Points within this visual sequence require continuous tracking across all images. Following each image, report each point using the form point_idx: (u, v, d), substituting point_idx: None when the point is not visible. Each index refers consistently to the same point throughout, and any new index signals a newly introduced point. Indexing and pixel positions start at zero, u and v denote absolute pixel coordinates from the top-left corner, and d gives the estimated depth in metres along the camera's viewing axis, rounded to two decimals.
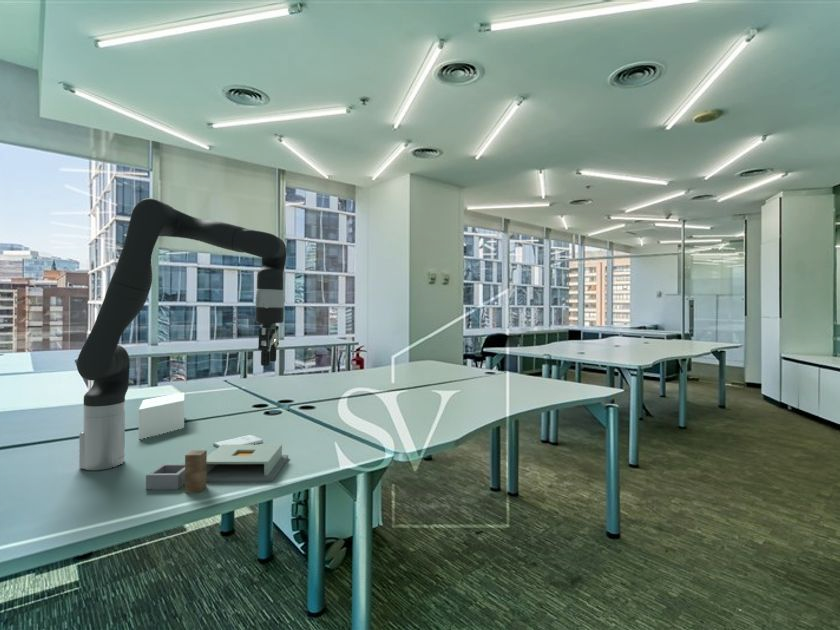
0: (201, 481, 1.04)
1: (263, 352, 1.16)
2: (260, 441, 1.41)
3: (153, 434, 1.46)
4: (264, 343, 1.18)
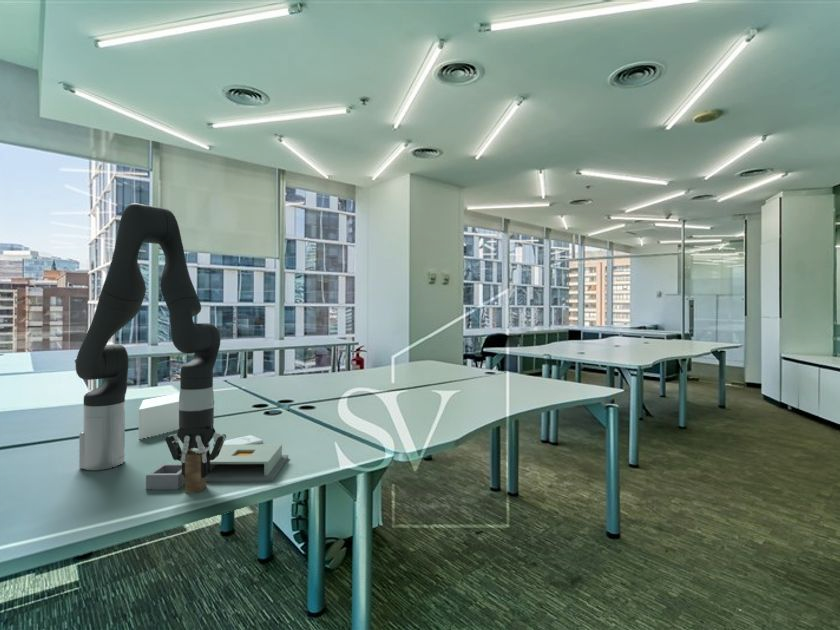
0: (201, 481, 1.04)
1: (208, 462, 1.04)
2: (260, 441, 1.41)
3: (153, 434, 1.46)
4: None
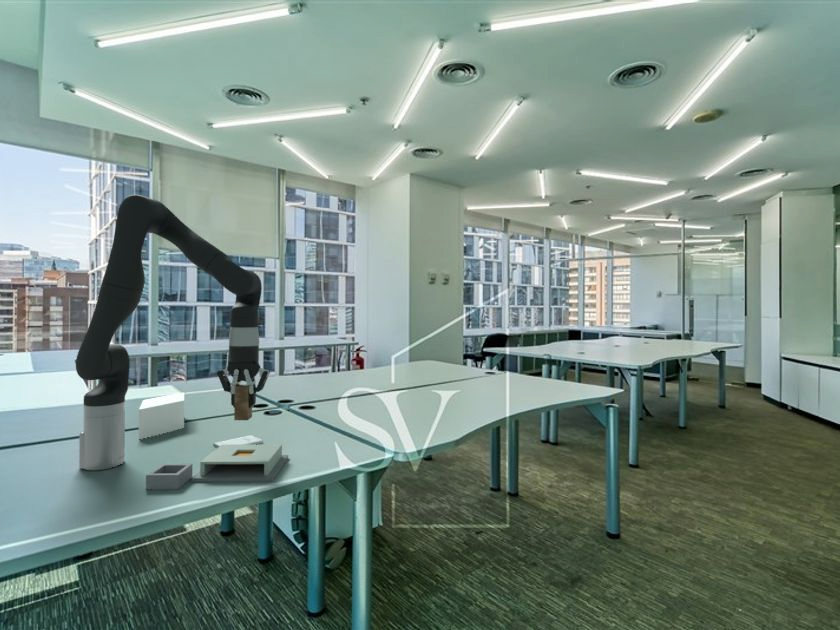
0: (248, 411, 1.16)
1: (254, 393, 1.17)
2: (260, 442, 1.40)
3: (153, 434, 1.46)
4: None
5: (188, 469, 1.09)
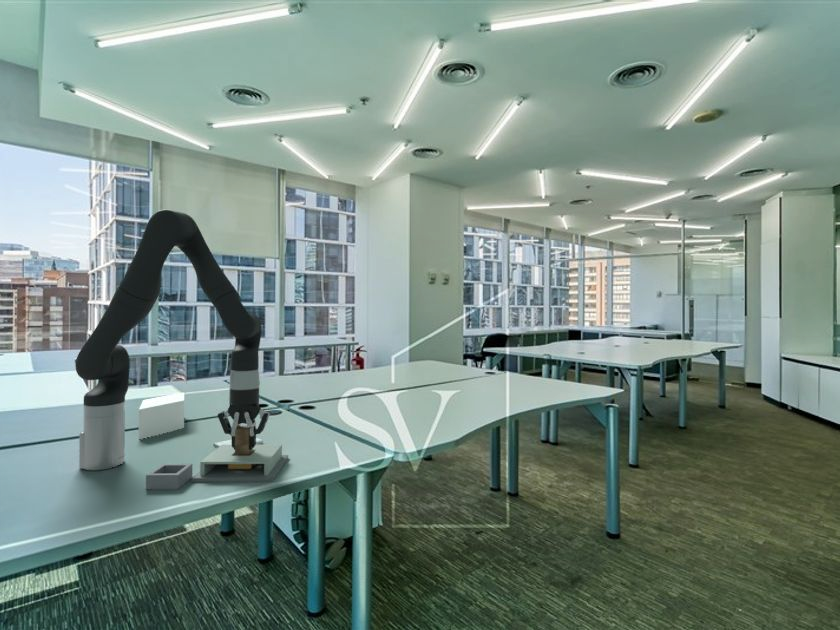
0: (249, 453, 1.17)
1: (255, 435, 1.18)
2: (260, 442, 1.40)
3: (153, 434, 1.46)
4: None
5: (188, 469, 1.09)
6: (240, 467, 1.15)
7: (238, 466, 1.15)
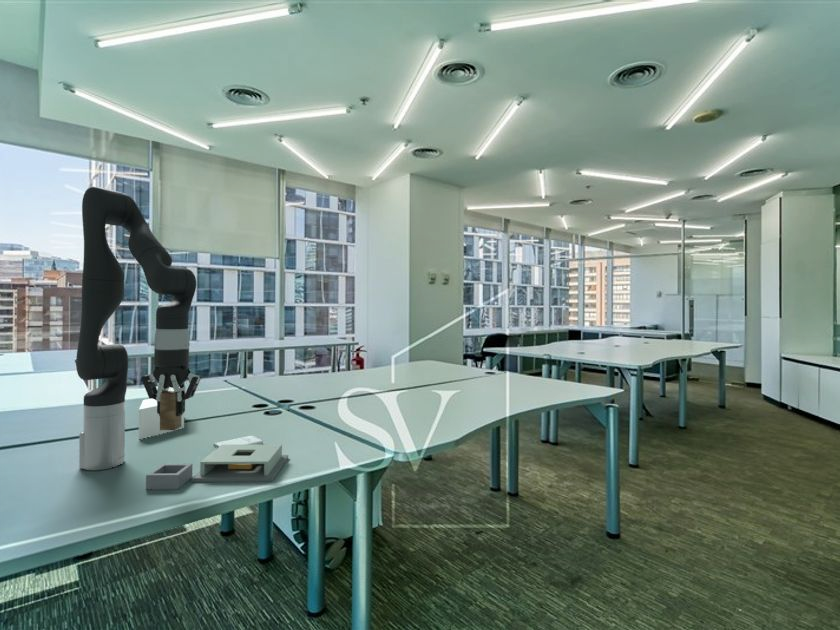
0: (176, 420, 1.07)
1: (183, 401, 1.08)
2: (260, 442, 1.40)
3: (153, 434, 1.46)
4: None
5: (188, 469, 1.09)
6: (240, 467, 1.15)
7: (238, 466, 1.15)
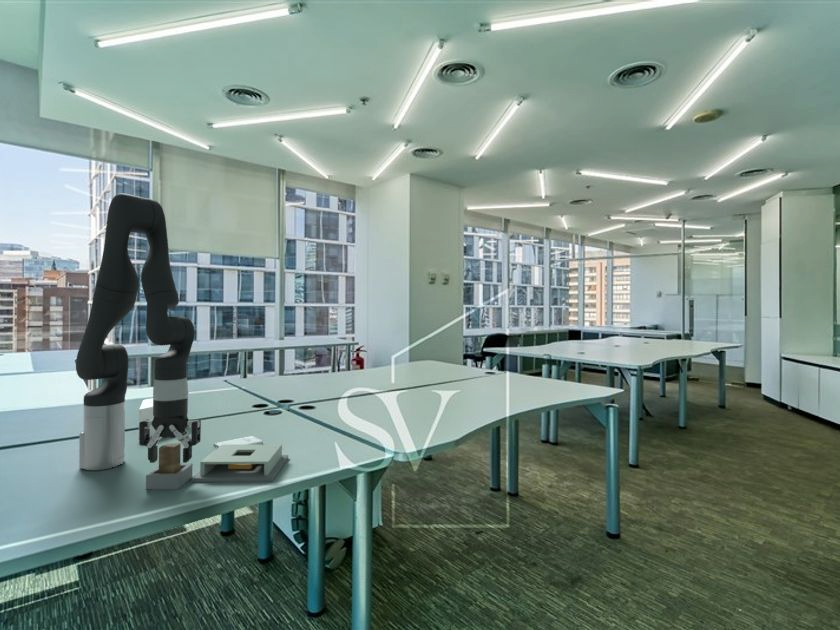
0: None
1: (190, 447, 1.08)
2: (260, 442, 1.40)
3: None
4: None
5: (188, 469, 1.09)
6: (240, 467, 1.15)
7: (238, 466, 1.15)
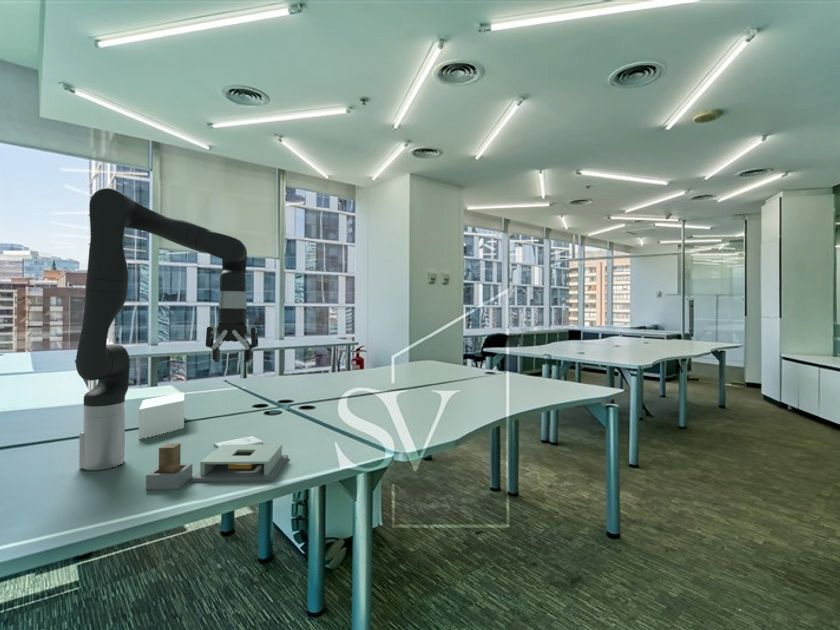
0: None
1: (250, 349, 1.27)
2: (260, 443, 1.39)
3: (153, 434, 1.46)
4: None
5: (188, 469, 1.09)
6: (240, 467, 1.15)
7: (238, 466, 1.15)
